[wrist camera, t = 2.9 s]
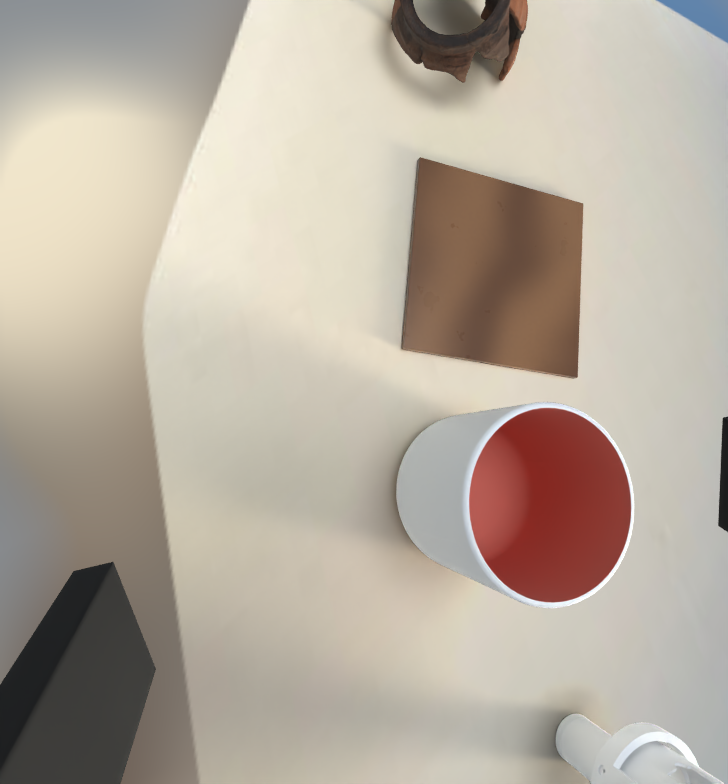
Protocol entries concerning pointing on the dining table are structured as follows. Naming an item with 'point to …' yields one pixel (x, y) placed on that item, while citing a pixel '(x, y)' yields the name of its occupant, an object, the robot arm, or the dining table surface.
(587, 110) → the dining table surface
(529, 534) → the cup
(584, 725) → the white openwork cylinder
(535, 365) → the coaster
